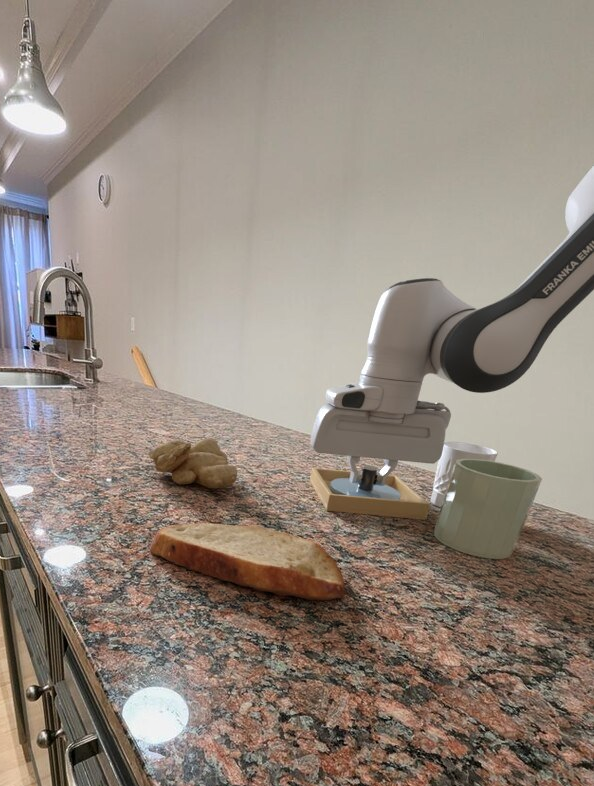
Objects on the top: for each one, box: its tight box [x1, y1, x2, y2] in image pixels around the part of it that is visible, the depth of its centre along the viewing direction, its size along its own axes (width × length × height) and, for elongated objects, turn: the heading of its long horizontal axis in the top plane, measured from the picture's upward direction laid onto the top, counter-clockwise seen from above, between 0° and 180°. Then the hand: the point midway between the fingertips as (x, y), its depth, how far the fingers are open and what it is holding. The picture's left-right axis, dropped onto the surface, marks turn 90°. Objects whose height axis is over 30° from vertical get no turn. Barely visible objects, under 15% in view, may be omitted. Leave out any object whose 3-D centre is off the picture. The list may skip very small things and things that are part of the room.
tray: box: [309, 467, 431, 521], centre depth 74 cm, size 15×14×3 cm
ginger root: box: [148, 438, 238, 490], centre depth 75 cm, size 16×16×8 cm
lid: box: [330, 465, 401, 500], centre depth 73 cm, size 11×11×5 cm
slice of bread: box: [149, 522, 347, 601], centre depth 48 cm, size 18×18×4 cm
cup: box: [433, 459, 543, 560], centre depth 59 cm, size 10×10×10 cm
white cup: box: [430, 441, 499, 508], centre depth 73 cm, size 8×8×10 cm
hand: (366, 483), depth 73 cm, fingers closed on lid, 2 cm apart
